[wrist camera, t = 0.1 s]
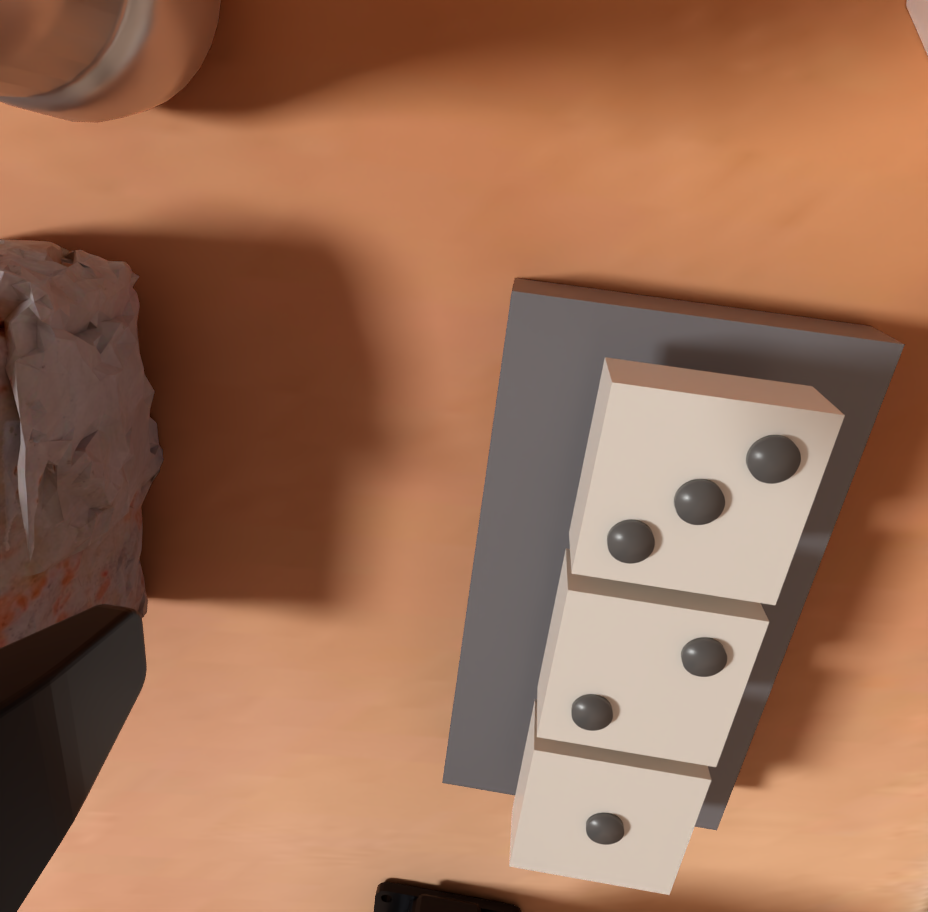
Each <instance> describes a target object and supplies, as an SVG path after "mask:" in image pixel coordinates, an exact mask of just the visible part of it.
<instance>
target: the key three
mask: <svg viewBox="0 0 928 912" xmlns="http://www.w3.org/2000/svg"><path fill="white" fill-rule="evenodd" d="M844 416H845V415H844V414H843V413H842V412H841V411H839V410H838V409H837V408H836V407H835V406H834V405H833V404H832V403H831V402H829V401H828V400H827V399H826V398H825V397H824V396H823V395H822V394H820V393H819V392H818V391H817V390H816V389H815V388H814V387H813V386H807V385H800V384H793V383H785V382H778V381H771V380H764V379H757V378H750V377H743V376H735V375H728V374H721V373H714V372H707V371H700V370H693V369H685V368H678V367H671V366H664V365H657V364H650V363H643V362H635V361H628V360H621V359H614V358H607V357H605V359H604V364H603V369H602V374H601V379H600V384H599V389H598V393H597V398H596V403H595V408H594V413H593V418H592V423H591V428H590V433H589V437H588V442H587V447H586V452H585V457H584V462H583V467H582V472H581V477H580V481H579V486H578V491H577V496H576V501H575V506H574V511H573V516H572V520H571V525H570V530H569V542H570V558H571V573H572V574H578V575H584V576H591V577H597V578H604V579H610V580H616V581H623V582H629V583H636V584H642V585H649V586H655V587H661V588H668V589H674V590H681V591H687V592H693V593H700V594H706V595H713V596H719V597H725V598H732V599H738V600H745V601H751V602H757V603H764V604H770V605H776V602H777V599H778V597H779V594H780V591H781V589H782V586H783V583H784V580H785V578H786V575H787V572H788V569H789V567H790V564H791V561H792V558H793V556H794V553H795V550H796V548H797V545H798V542H799V539H800V537H801V534H802V531H803V528H804V526H805V523H806V520H807V517H808V515H809V512H810V509H811V507H812V504H813V501H814V498H815V496H816V493H817V490H818V487H819V485H820V482H821V479H822V476H823V474H824V471H825V468H826V466H827V463H828V460H829V457H830V455H831V452H832V449H833V446H834V444H835V441H836V438H837V435H838V433H839V430H840V427H841V425H842V422H843V419H844Z"/></svg>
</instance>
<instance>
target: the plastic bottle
mask: <svg viewBox="0 0 928 912" xmlns="http://www.w3.org/2000/svg"><path fill="white" fill-rule="evenodd" d="M220 3H221V0H0V102H2V103H5V104H8V105H10V106H14V107H18V108H22V109H26V110H30V111H33V112H37V113H41V114H45V115H49V116H53V117H57V118H60V119H64V120H68V121H72V122H103V121H108V120H113V119H118V118H122V117H126V116H129V115H133V114H137V113H140V112H144V111H147V110H149V109H151V108H154V107H156V106H158V105H160V104H162V103H164V102H167V101H168V100H169V99H171V98H172V97H173V96H174V95H176V94H177V93H178V92H179V91H181V90H182V89H183V88H184V87H185V86H186V85H187V84H188V83H189V81H190V80H191V79H192V78H193V76H194V75H195V74H196V73H197V71H198V70H199V69H200V67H201V65H202V63H203V61H204V59H205V57H206V55H207V53H208V51H209V49H210V47H211V45H212V41H213V38H214V35H215V31H216V28H217V24H218V21H219V13H220Z"/></svg>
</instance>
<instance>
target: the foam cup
mask: <svg viewBox="0 0 928 912" xmlns="http://www.w3.org/2000/svg"><path fill="white" fill-rule="evenodd" d="M906 7H907V9H908V11H909V14H910V16H911V18H912V21H913V23H914V25H915V27H916V30H917V32H918V34H919V37H920V39H921V41H922V44H923V46H924V48H925V50H926V53H927V55H928V0H907V4H906Z"/></svg>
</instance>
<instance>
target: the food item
mask: <svg viewBox="0 0 928 912" xmlns="http://www.w3.org/2000/svg"><path fill="white" fill-rule="evenodd" d="M138 278H139V276H138V275H136V274H135V273H133V272H132V269H131V268H130V267H129V265H128V264H127V263H126V262H122V261H108V260H105V259H103V258H101V257H99V256H96V255H92V254H89V253H87V252H85V251H83V250H74V251H68V250H66V249H64V248H62V247H61V246H58V245H56V244H54V243H52V242H48V241H32V240H10V239H0V648H2V647H4V646H6V645H8V644H11V643H13V642H15V641H17V640H19V639H22V638H24V637H26V636H28V635H31V634H33V633H35V632H37V631H40V630H42V629H44V628H46V627H49V626H51V625H53V624H55V623H58V622H60V621H62V620H64V619H67V618H69V617H71V616H73V615H76V614H78V613H80V612H82V611H85V610H87V609H89V608H91V607H94V606H96V605H100V604H110V605H116V606H122V607H128V608H133V609H135V610H137V611H138V612H139V614H140V615H141V618H143V616H144V615H145V614H146V612H147V604H148V599H147V595H146V590H145V581H144V576H143V572H142V568H141V564H140V561H139V558H140V554H141V550H142V530H143V522H142V512H141V505H142V503H143V501H144V499H145V497H146V495H147V492H148V490H149V488H150V486H151V484H152V482H153V480H154V479H155V477H156V476H157V474H158V473H159V471H160V466H161V464H162V462H163V460H164V459H163V449H162V448H161V447H160V446H159V439H158V430H157V423H156V422H155V421H154V420H153V419H151V418H150V417H149V416H150V407H151V404H152V400H153V396H154V393H155V391H154V389H153V388H152V386H151V384H150V383H149V381H148V379H147V377H146V376H145V374H144V367H143V364H142V360H141V356H140V351H139V340H138V330H137V321H138V314H139V307H140V304H139V300H138V295H137V292H136V291H135V290H134V289H133V286H134V284H135V283H136V281H137V279H138Z"/></svg>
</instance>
